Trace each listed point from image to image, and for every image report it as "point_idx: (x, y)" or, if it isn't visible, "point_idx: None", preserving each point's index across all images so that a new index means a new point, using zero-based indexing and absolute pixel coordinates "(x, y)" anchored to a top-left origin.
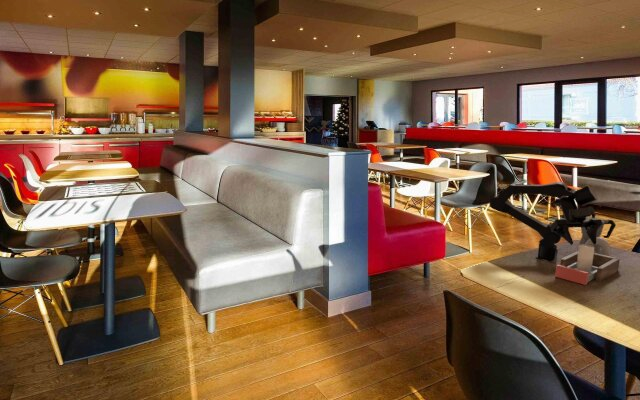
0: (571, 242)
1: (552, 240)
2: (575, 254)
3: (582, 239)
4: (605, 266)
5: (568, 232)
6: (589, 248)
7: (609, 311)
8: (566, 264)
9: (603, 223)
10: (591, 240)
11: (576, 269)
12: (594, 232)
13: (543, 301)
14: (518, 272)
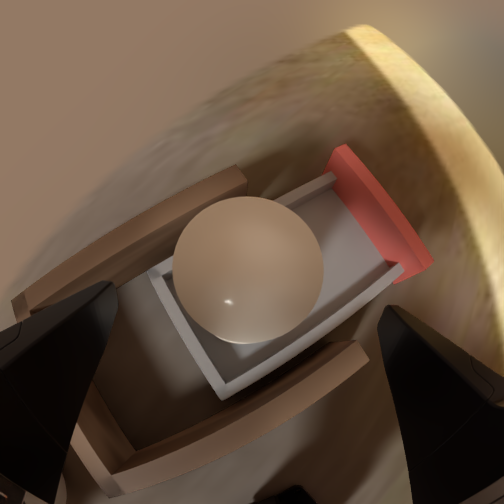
0: (404, 314)
1: None
2: (203, 441)
3: None
4: (183, 192)
5: (484, 383)
6: (265, 201)
7: (353, 63)
8: (317, 359)
9: None
10: (97, 360)
11: (370, 189)
12: (8, 348)
13: (465, 133)
14: (487, 334)
